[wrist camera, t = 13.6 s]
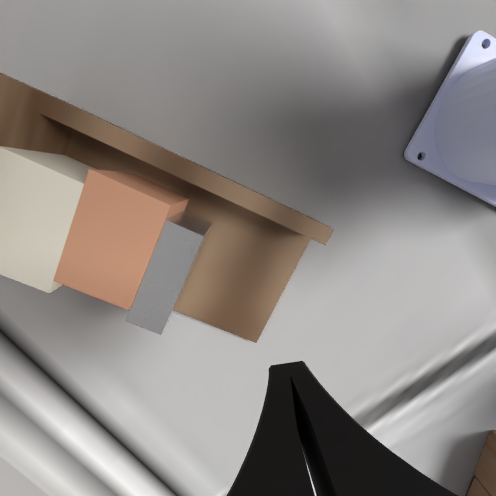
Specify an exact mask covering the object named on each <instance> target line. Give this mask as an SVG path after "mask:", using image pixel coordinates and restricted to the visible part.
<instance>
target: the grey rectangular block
mask: <svg viewBox="0 0 496 496" xmlns="http://www.w3.org/2000/svg"><path fill="white" fill-rule="evenodd" d="M211 225H212V223H211V222H209V221H207V220H205V219H203V218H200V217H198V216H196V215H194V214H191V213H189V212H187V211H185V210H184V211H182V212H180V213H178V214H176V215H174V216H172V217H170V218H168V219H166V221H165V223H164V226H163V228H162V231H161V233H160V236H159V239H158V241H157V244H156V246H155V249H154V251H153V254H152V256H151V259H150V261H149V264H148V266H147V269H146V271H145V274H144V276H143V279H142V281H141V284H140V286H139V289H138V291H137V294H136V297H135V299H134V302H133V304H132V307H131V309H130V312H129V314H128V317H127V319H126V321H127V322H129V323H132V324H134V325H137V326H139V327H142V328H145V329H147V330H150V331H152V332H155V333H158V334H160V335H161V334H162V332H163V330H164V328H165V326H166V324H167V322H168V320H169V318H170V316H171V315H172V313H173V311H174V309H175V307H176V305H177V303H178V301H179V299H180V297H181V294H182V292H183V290H184V287H185V285H186V283H187V280H188V278H189V276H190V274H191V271H192V269H193V267H194V264H195V262H196V260H197V257H198V255H199V253H200V251H201V248H202V246H203V244H204V241H205V239H206V237H207V235H208V232H209V230H210V228H211Z"/></svg>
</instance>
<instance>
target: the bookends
mask: <svg viewBox="0 0 496 496" xmlns="http://www.w3.org/2000/svg"><path fill="white" fill-rule="evenodd" d="M474 474H475V476H474V478H473V481H472V483H471V486H470V488H469V491H468V493H467V496H496V430H491V431H490V432H489V434H488V437H487V440H486V442H485V445H484V447H483V450H482V452H481V455H480V457H479V460H478V462H477V465H476V467H475V470H474Z"/></svg>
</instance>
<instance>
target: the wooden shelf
mask: <svg viewBox="0 0 496 496" xmlns="http://www.w3.org/2000/svg"><path fill="white" fill-rule="evenodd" d="M0 146H3V147H10V148H17V149H24V150H31V151H38V152H45V153H52V154H59V155H66V156H68V157H70V158H72V159H74V160H77V161H79V162H81V163H83V164H86V165H88V166H90V167H92V168H95V169H97V170H110V171H124V172H132V173H134V174H136V175H138V176H141V177H143V178H145V179H147V180H149V181H152V182H154V183H156V184H158V185H160V186H163V187H165V188H167V189H169V190H171V191H174V192H176V193H178V194H180V195H182V196H185V197H187V198H189V201H188V203H187V206H186V208H185V211H187V212H189V213H191V214H194V215H196V216H198V217H200V218H203V219H205V220H207V221H209V222H211V223H212V225H211V228H210V230H209V232H208V235H207V237H206V239H205V241H204V244H203V246H202V248H201V251H200V253H199V255H198V257H197V260H196V262H195V264H194V267H193V269H192V271H191V274H190V276H189V278H188V280H187V283H186V285H185V287H184V290H183V292H182V294H181V297H180V299H179V301H178V303H177V305H176V307H175V309H174V310H175V311H178V312H180V313H183V314H185V315H188V316H190V317H193V318H195V319H198V320H200V321H203V322H205V323H208V324H210V325H213V326H215V327H218V328H220V329H223V330H225V331H228V332H230V333H233V334H235V335H238V336H240V337H243V338H245V339H248V340H250V341H253V342H255V343H256V342H257V340H258V338H259V337H260V335H261V333H262V331H263V329H264V327H265V325H266V323H267V321H268V319H269V317H270V315H271V314H272V312H273V310H274V308H275V306H276V304H277V302H278V300H279V298H280V296H281V294H282V292H283V291H284V289H285V287H286V285H287V283H288V281H289V279H290V277H291V275H292V273H293V271H294V269H295V268H296V266H297V264H298V262H299V260H300V258H301V256H302V254H303V252H304V250H305V248H306V247H307V245H308V243H309V241H310V239H313V240H315V241H318V242H320V243H322V244H324V245H326V243H327V241H328V239H329V237H330V236H331V234H332V232H333V230H334V229H332V228H330V227H328V226H326V225H324V224H322V223H321V222H319V221H317V220H315V219H312V218H310V217H308V216H306V215H304V214H302V213H300V212H298V211H296V210H293V209H291V208H289V207H287V206H285V205H283V204H281V203H279V202H276V201H274V200H272V199H270V198H268V197H266V196H264V195H262V194H260V193H257V192H255V191H253V190H251V189H249V188H247V187H245V186H243V185H240V184H238V183H236V182H234V181H232V180H230V179H228V178H226V177H223V176H221V175H219V174H217V173H215V172H213V171H211V170H209V169H207V168H204V167H202V166H200V165H198V164H196V163H194V162H192V161H190V160H187V159H185V158H183V157H181V156H179V155H177V154H175V153H173V152H170V151H168V150H166V149H164V148H162V147H160V146H158V145H156V144H154V143H151V142H149V141H147V140H145V139H143V138H141V137H139V136H137V135H134V134H132V133H130V132H128V131H126V130H124V129H122V128H120V127H118V126H115V125H113V124H111V123H109V122H107V121H105V120H103V119H101V118H98V117H96V116H94V115H92V114H90V113H88V112H86V111H84V110H81V109H79V108H77V107H75V106H73V105H71V104H69V103H67V102H65V101H62V100H60V99H58V98H56V97H54V96H51V95H49V94H47V93H45V92H42V91H40V90H38V89H36V88H33V87H31V86H29V85H27V84H25V83H22V82H20V81H18V80H16V79H13V78H11V77H9V76H7V75H4V74H2V73H0Z"/></svg>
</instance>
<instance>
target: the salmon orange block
mask: <svg viewBox="0 0 496 496" xmlns="http://www.w3.org/2000/svg"><path fill="white" fill-rule="evenodd" d="M188 201H189V198H187V197H185V196H182V195H180V194H178V193H176V192H174V191H171V190H169V189H167V188H165V187H163V186H160V185H158V184H156V183H154V182H152V181H149V180H147V179H145V178H143V177H141V176H138V175H136V174H134V173H132V172H124V171H110V170H97V169H89V170H88V174H87V177H86V180H85V183H84V186H83V189H82V192H81V195H80V198H79V202H78V205H77V208H76V211H75V214H74V217H73V220H72V223H71V227H70V230H69V233H68V236H67V239H66V242H65V245H64V248H63V251H62V255H61V258H60V261H59V264H58V267H57V270H56V273H55V276H54V279H53V281H55V282H57V283H60V284H63V285H65V286H68V287H70V288H73V289H75V290H78V291H80V292H83V293H86V294H88V295H91V296H93V297H96V298H98V299H101V300H104V301H106V302H109V303H111V304H114V305H116V306H119V307H121V308H124V309H127V310H130V309H131V307H132V304H133V302H134V299H135V297H136V294H137V291H138V289H139V286H140V284H141V281H142V279H143V276H144V274H145V271H146V269H147V266H148V264H149V261H150V259H151V256H152V254H153V251H154V249H155V246H156V244H157V241H158V239H159V236H160V233H161V231H162V228H163V226H164V223H165V221H166V219H168V218H170V217H172V216H174V215H176V214H178V213H180V212H182V211H184V210H185V208H186V206H187V203H188Z"/></svg>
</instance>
